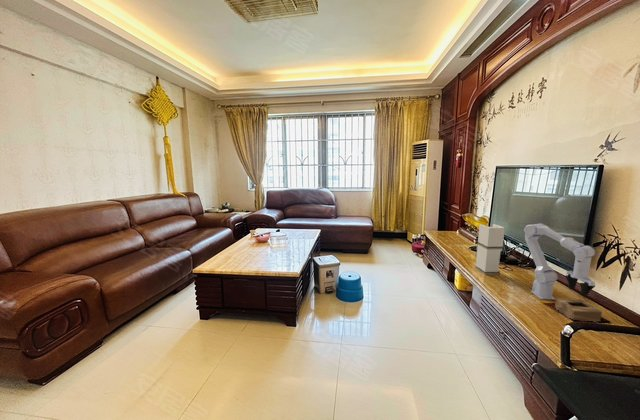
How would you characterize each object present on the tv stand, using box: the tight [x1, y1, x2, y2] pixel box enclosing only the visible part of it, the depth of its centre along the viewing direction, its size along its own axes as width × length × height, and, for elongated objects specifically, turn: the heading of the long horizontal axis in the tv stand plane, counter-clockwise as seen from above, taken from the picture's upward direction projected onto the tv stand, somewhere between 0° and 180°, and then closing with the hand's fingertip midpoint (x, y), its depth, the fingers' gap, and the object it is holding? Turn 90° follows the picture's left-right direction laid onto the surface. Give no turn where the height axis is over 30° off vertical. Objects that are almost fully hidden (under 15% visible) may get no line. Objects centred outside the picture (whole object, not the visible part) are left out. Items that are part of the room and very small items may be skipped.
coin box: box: [554, 297, 603, 323], centre depth 132 cm, size 12×12×6 cm
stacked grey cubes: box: [475, 223, 505, 276], centre depth 185 cm, size 11×11×35 cm
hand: (577, 292), depth 135 cm, fingers open, 7 cm apart
